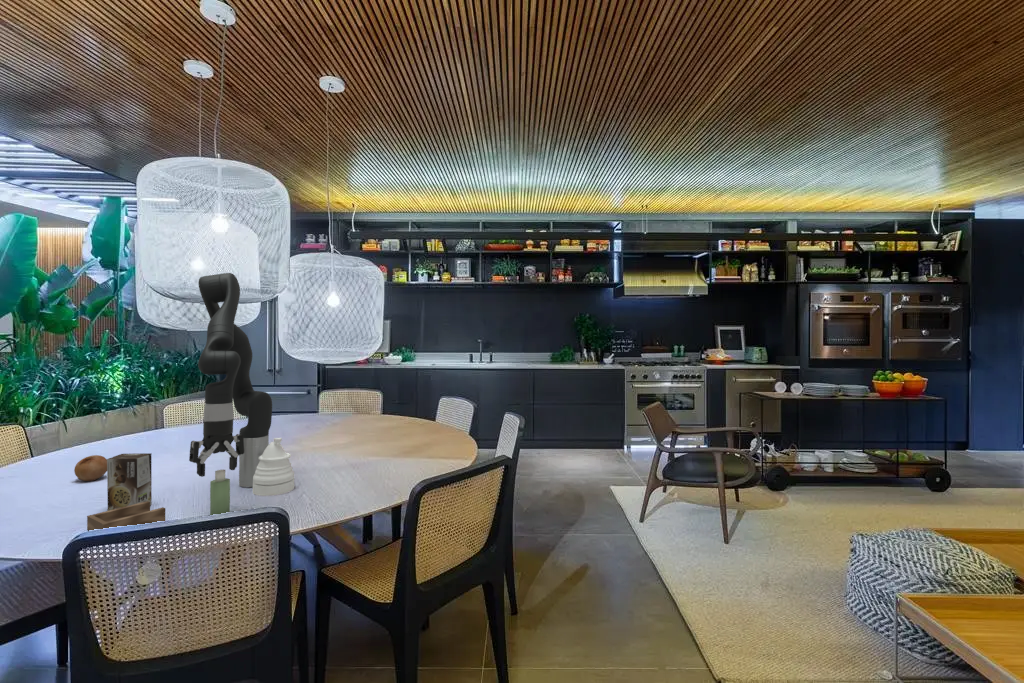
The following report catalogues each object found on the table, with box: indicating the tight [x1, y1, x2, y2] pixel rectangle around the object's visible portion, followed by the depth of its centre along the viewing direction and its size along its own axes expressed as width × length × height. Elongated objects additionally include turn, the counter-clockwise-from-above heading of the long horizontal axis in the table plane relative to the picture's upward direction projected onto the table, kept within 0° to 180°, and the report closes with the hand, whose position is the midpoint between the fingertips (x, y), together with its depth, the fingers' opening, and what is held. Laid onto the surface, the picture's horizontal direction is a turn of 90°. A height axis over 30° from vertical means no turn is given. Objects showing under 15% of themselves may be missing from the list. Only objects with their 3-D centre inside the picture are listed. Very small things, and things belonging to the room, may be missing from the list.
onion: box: [73, 454, 108, 482], centre depth 174 cm, size 10×9×10 cm
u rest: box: [86, 501, 166, 531], centre depth 132 cm, size 14×11×4 cm
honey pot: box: [252, 437, 295, 497], centre depth 165 cm, size 13×13×18 cm
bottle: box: [209, 469, 231, 516], centre depth 142 cm, size 5×5×13 cm
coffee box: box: [106, 452, 153, 511], centre depth 146 cm, size 9×6×16 cm
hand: (217, 472), depth 141 cm, fingers open, 8 cm apart
